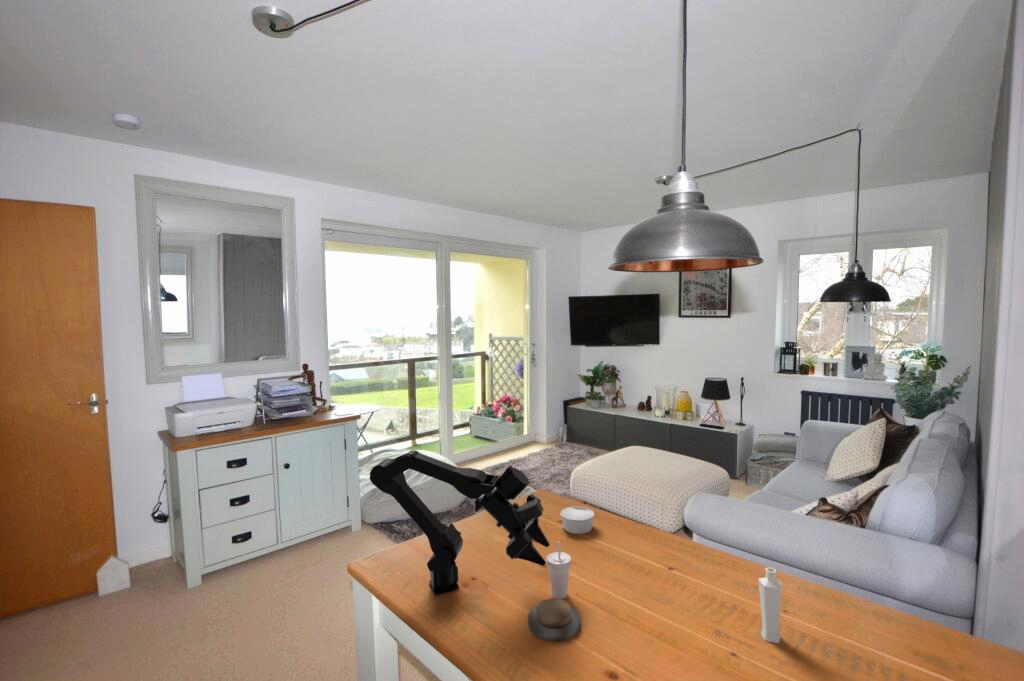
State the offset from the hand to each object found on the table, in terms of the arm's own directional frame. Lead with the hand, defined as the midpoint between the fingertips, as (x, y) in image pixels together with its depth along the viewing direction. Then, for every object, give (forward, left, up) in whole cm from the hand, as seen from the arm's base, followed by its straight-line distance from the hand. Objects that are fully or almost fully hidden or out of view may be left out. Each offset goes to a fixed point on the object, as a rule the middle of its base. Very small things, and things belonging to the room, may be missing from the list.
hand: (546, 554), depth 119 cm
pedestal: (-5, -11, -10) cm, 16 cm away
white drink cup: (+2, -2, -10) cm, 11 cm away
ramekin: (+27, +27, -11) cm, 40 cm away
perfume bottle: (+34, -37, -10) cm, 51 cm away
